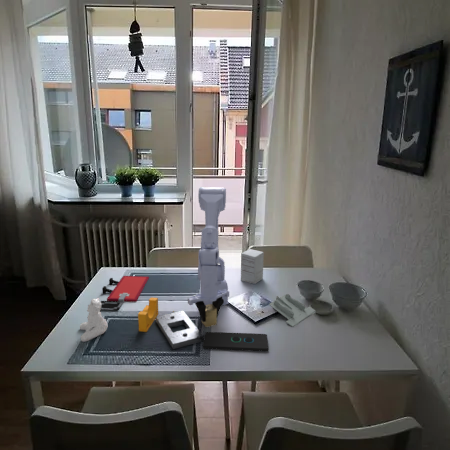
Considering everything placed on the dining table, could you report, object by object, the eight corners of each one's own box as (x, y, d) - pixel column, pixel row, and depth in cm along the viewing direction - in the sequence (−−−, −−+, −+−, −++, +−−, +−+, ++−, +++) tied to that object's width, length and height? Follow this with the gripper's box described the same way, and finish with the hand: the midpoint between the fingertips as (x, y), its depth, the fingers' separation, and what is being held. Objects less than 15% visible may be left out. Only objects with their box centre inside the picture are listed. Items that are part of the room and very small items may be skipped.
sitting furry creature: (79, 327, 124) (76, 295, 121) (106, 322, 127) (103, 290, 124) (81, 343, 116) (77, 308, 113) (110, 337, 119) (107, 303, 116)
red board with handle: (90, 311, 135) (131, 312, 135) (89, 304, 135) (131, 305, 134) (115, 278, 164) (149, 279, 164) (114, 272, 164) (148, 273, 163)
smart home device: (268, 348, 112) (202, 345, 113) (268, 353, 112) (202, 350, 113) (267, 333, 120) (205, 330, 121) (266, 338, 120) (205, 335, 121)
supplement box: (249, 274, 168) (249, 248, 165) (263, 278, 164) (264, 251, 161) (240, 280, 163) (240, 253, 159) (254, 284, 158) (255, 256, 155)
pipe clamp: (146, 313, 134) (146, 296, 133) (158, 314, 134) (157, 298, 132) (133, 331, 123) (132, 313, 121) (146, 332, 122) (145, 314, 121)
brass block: (211, 319, 130) (211, 303, 129) (216, 324, 127) (216, 308, 125) (201, 321, 129) (201, 306, 127) (205, 327, 125) (205, 311, 124)
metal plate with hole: (183, 315, 133) (183, 309, 132) (203, 340, 118) (203, 335, 117) (155, 321, 129) (155, 316, 128) (173, 349, 113) (173, 343, 113)
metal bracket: (265, 300, 133) (288, 287, 143) (260, 313, 135) (284, 299, 146) (297, 325, 125) (320, 309, 135) (292, 337, 127) (314, 321, 138)
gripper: (193, 291, 117) (193, 329, 121) (233, 283, 123) (233, 319, 127) (185, 282, 123) (185, 319, 127) (224, 275, 130) (223, 310, 133)
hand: (208, 318), depth 127 cm, fingers closed on brass block, 4 cm apart
